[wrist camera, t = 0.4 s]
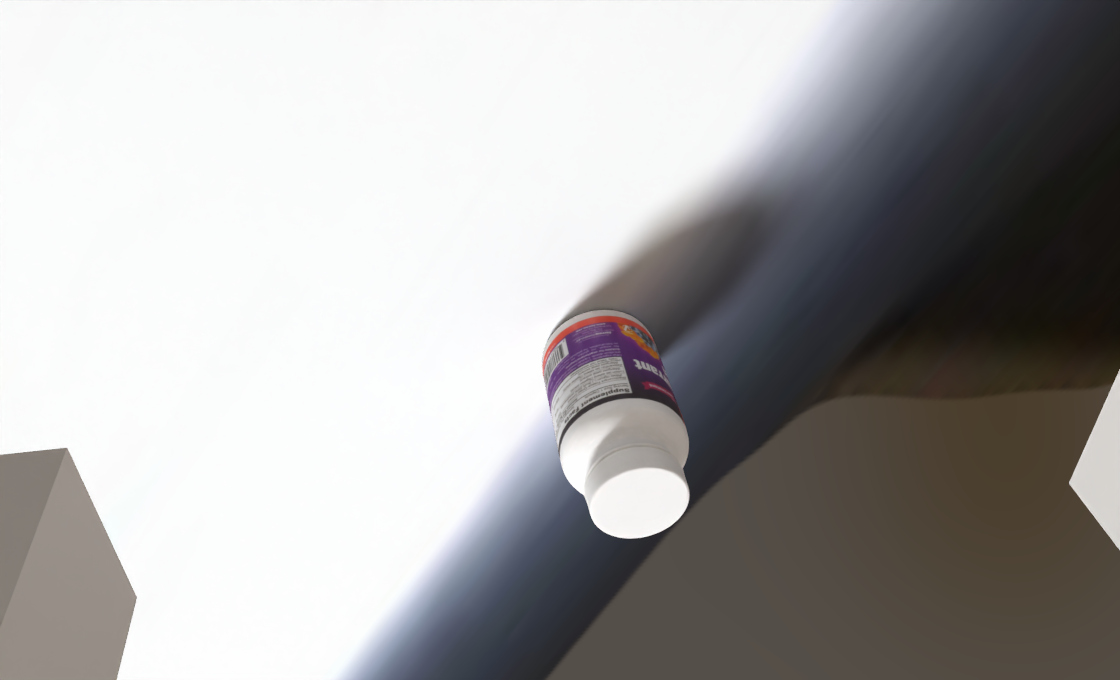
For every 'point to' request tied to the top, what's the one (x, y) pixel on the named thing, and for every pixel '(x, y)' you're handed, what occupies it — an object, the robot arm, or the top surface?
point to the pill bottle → (617, 423)
